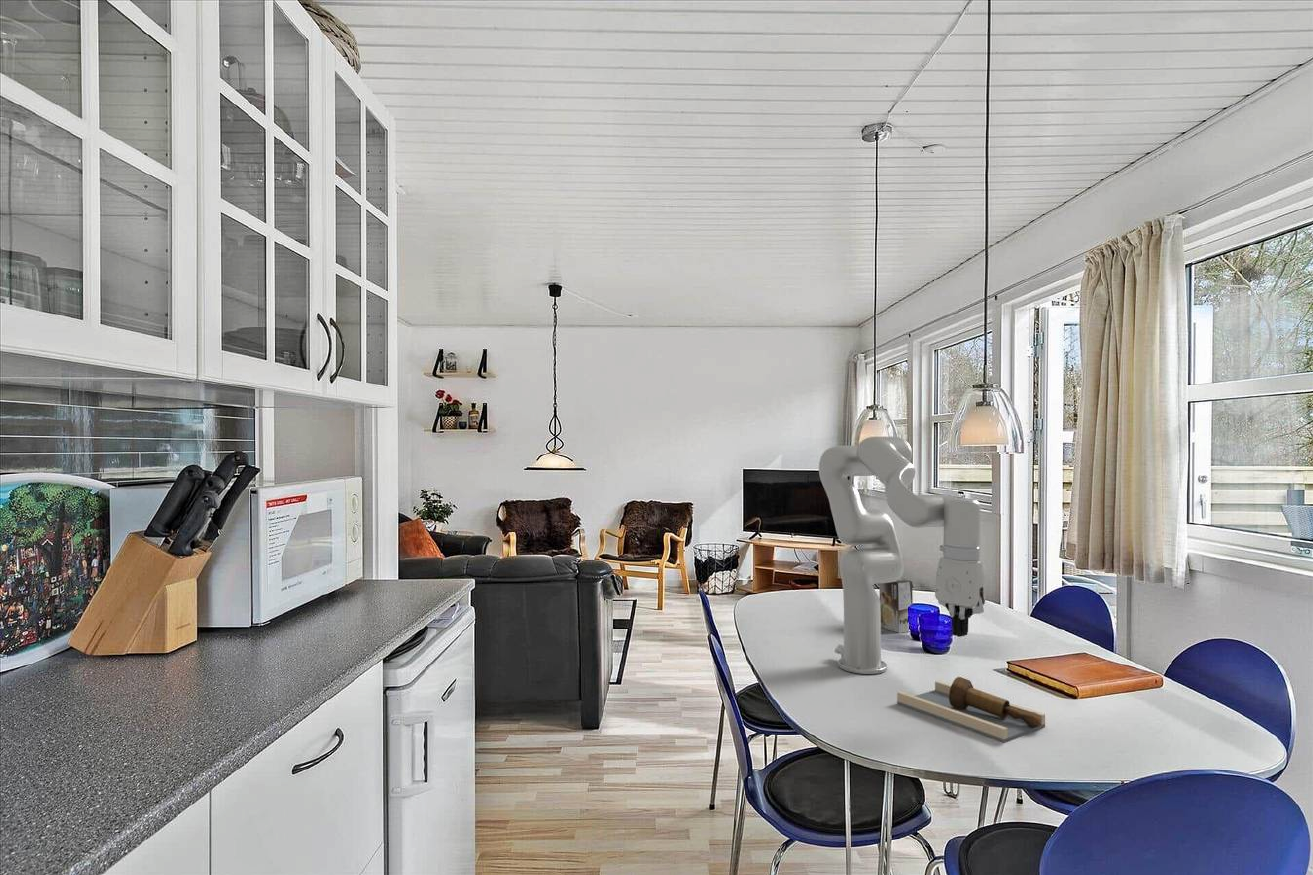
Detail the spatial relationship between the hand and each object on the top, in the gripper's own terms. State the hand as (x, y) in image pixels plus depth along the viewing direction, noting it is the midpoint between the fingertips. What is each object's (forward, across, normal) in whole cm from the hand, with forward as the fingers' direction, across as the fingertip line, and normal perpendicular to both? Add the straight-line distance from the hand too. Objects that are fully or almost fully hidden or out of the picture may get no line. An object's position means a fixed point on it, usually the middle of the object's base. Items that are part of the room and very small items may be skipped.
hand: (959, 634), depth 162 cm
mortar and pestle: (+13, -1, 0) cm, 13 cm away
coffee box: (+19, -55, +47) cm, 75 cm away
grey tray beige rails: (+17, +3, -1) cm, 17 cm away
